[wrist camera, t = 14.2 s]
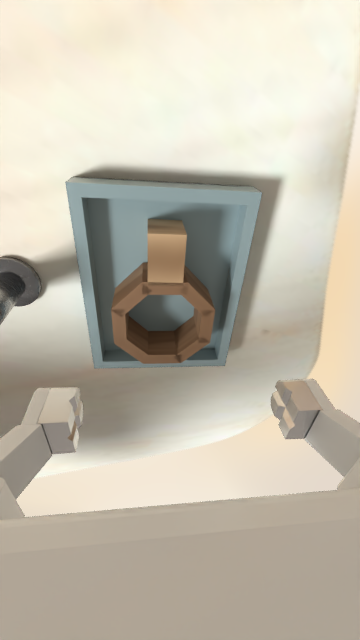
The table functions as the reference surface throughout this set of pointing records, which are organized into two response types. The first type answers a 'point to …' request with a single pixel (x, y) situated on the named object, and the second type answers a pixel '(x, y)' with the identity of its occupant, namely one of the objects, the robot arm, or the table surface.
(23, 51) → the table surface
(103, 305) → the tray
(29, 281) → the stake
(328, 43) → the table surface
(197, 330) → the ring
